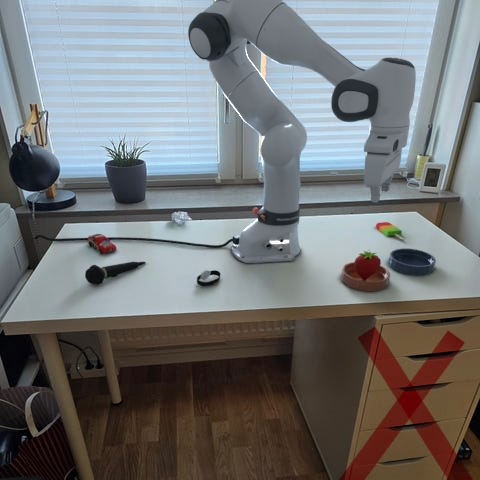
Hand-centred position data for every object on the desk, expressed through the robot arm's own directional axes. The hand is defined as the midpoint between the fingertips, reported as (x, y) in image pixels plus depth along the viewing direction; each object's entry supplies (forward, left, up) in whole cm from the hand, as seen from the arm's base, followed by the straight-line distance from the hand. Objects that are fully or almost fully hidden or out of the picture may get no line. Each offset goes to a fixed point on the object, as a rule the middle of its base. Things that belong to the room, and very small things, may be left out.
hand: (380, 196), depth 112 cm
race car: (-68, +50, -26) cm, 88 cm away
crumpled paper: (-38, +66, -26) cm, 80 cm away
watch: (-41, +16, -26) cm, 51 cm away
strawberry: (+2, +3, -26) cm, 26 cm away
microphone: (-65, +28, -26) cm, 75 cm away
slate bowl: (+21, +7, -26) cm, 34 cm away
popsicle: (+31, +31, -26) cm, 51 cm away
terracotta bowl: (+2, +3, -26) cm, 26 cm away
